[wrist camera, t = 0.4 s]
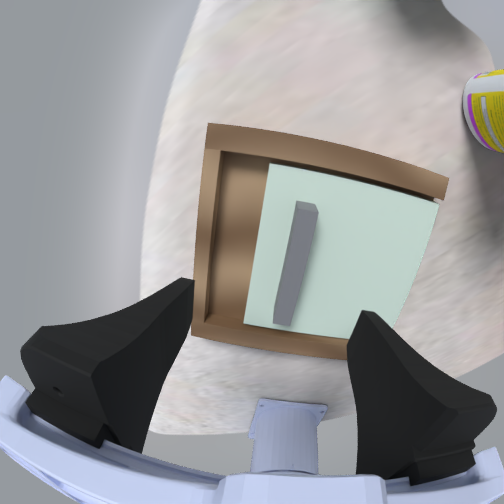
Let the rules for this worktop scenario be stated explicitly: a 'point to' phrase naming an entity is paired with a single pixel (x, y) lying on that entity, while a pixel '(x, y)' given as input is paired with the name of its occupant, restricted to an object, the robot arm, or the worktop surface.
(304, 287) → the cover plate
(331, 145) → the wooden box
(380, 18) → the worktop surface
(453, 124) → the worktop surface
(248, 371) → the worktop surface
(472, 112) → the supplement bottle
